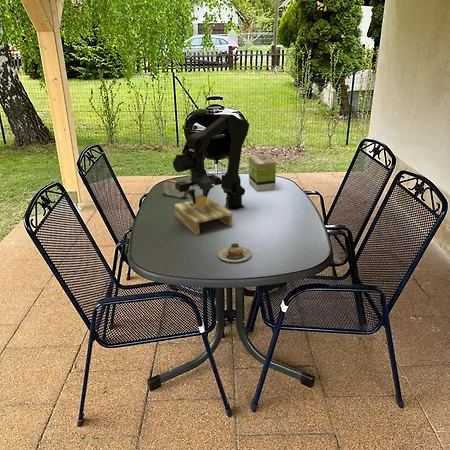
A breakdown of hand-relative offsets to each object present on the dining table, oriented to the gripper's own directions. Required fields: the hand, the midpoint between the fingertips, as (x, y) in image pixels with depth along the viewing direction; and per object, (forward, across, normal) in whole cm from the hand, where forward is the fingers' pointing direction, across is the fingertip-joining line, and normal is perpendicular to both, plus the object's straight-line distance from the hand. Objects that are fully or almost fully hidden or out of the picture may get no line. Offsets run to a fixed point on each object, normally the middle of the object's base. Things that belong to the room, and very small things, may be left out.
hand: (199, 202), depth 182 cm
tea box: (+8, +46, +23) cm, 52 cm away
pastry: (+8, -4, -36) cm, 37 cm away
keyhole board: (+8, 0, -2) cm, 8 cm away
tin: (+8, +2, +34) cm, 35 cm away
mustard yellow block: (+4, 0, 0) cm, 4 cm away
